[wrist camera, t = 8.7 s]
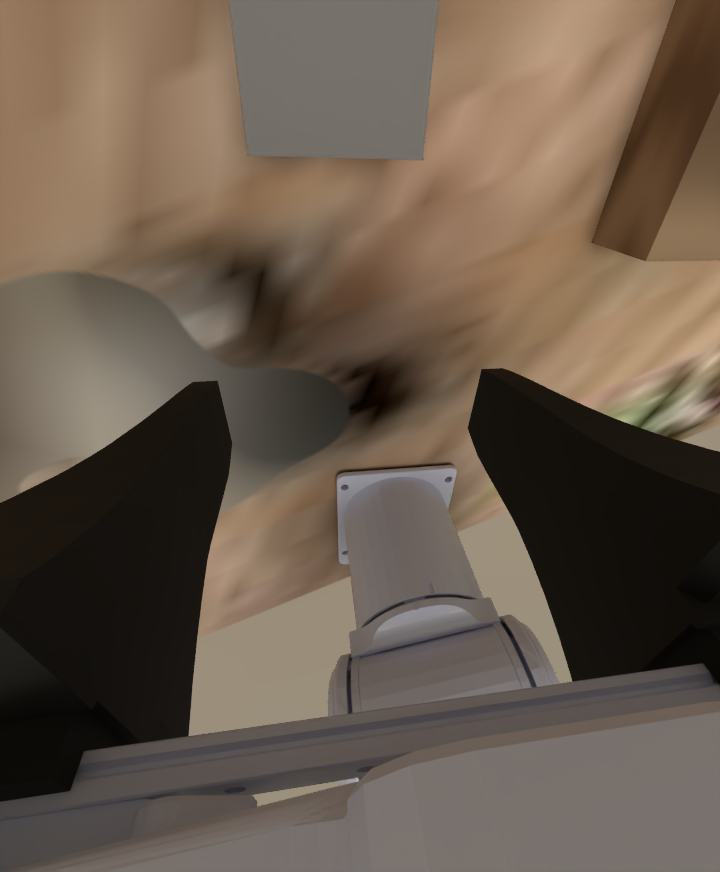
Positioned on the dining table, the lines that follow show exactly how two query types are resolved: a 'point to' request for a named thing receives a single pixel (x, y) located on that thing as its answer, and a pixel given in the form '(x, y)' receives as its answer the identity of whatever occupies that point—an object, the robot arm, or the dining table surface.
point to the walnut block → (672, 150)
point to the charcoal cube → (334, 76)
